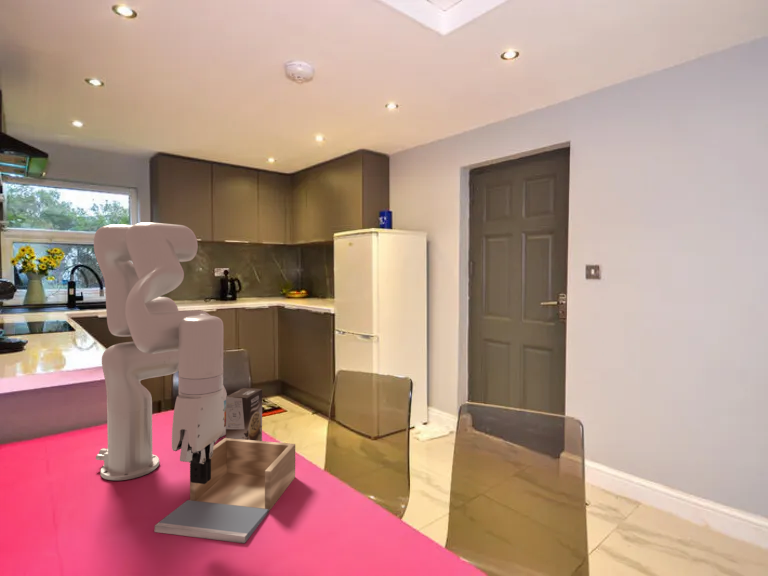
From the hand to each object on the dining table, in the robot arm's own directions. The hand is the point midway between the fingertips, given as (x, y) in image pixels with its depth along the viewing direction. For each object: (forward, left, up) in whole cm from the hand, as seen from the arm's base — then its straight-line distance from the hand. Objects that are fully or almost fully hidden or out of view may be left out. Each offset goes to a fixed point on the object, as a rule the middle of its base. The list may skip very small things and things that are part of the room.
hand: (200, 480), depth 80 cm
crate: (0, +17, -11) cm, 20 cm away
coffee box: (-11, +38, -11) cm, 41 cm away
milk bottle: (-25, +46, -11) cm, 53 cm away
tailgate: (0, +9, -10) cm, 13 cm away
